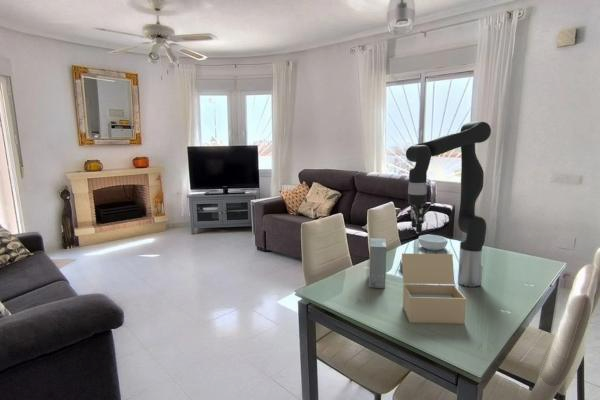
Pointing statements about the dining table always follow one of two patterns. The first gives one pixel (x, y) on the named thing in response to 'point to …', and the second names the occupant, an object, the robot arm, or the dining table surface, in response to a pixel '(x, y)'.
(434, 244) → the cereal bowl
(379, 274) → the hard drive box
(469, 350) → the dining table surface
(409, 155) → the robot arm
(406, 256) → the lid
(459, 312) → the carton
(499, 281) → the dining table surface
